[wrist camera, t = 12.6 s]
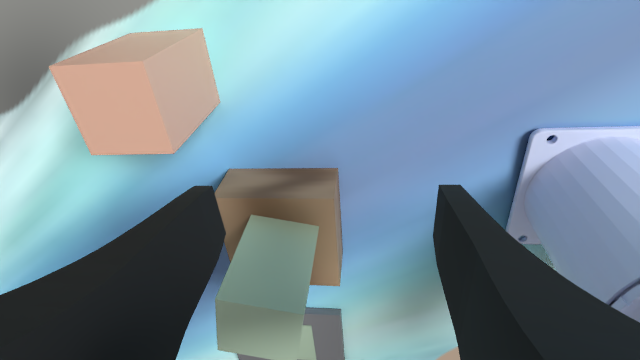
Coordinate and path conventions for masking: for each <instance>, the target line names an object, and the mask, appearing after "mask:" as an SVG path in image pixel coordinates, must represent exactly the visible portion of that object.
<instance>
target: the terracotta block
mask: <svg viewBox="0 0 640 360" xmlns="http://www.w3.org/2000/svg"><path fill="white" fill-rule="evenodd" d="M49 68H50V70H51V72H52V74H53V76H54V78H55V81H56V83H57V85H58V87H59V89H60V91H61V93H62V95H63V97H64V99H65V101H66V103H67V105H68V107H69V110H70V112H71V114H72V116H73V118H74V120H75V122H76V124H77V126H78V128H79V130H80V132H81V134H82V136H83V138H84V141H85V143H86V145H87V147H88V149H89V151H90V153H91V155H124V154H174V153H175V152H176V151H177V150H178V149H179V148H180V147H181V145H182V144H183V143H184V142H185V141H186V140H187V139H188V138H189V137H190V135H191V134H192V133H193V132H194V131H195V130H196V129H197V128H198V127H199V125H200V124H201V123H202V122H203V121H204V120H205V119H206V118H207V116H208V115H209V114H210V113H211V112H212V111H213V110H214V109H215V108H216V106H217V105H218V104H219V103H220V99H219V95H218V91H217V87H216V83H215V79H214V75H213V70H212V66H211V62H210V58H209V54H208V50H207V46H206V41H205V37H204V33H203V29H202V28H199V29H184V30H169V31H154V32H140V33H130V34H127V35H125V36H122V37H120V38H117V39H115V40H112V41H110V42H108V43H105V44H103V45H100V46H98V47H95V48H93V49H90V50H88V51H85V52H83V53H80V54H78V55H75V56H73V57H71V58H68V59H66V60H63V61H61V62H58V63H56V64H53V65H51V66H49Z"/></svg>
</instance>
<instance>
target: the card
mask: <svg viewBox="0 0 640 360" xmlns="http://www.w3.org/2000/svg"><path fill="white" fill-rule="evenodd" d="M237 355H238V358H239V360H271V359H265V358H260V357H254V356H248V355H243V354H237ZM297 360H345V357H344V344H343V331H342V319H341V309H325V308H305V314H304V320H303V326H302V332H301V338H300V343H299V349H298V355H297Z"/></svg>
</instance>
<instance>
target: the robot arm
mask: <svg viewBox="0 0 640 360" xmlns="http://www.w3.org/2000/svg"><path fill="white" fill-rule="evenodd" d="M551 135H554V138H553V139H551V140H549V141H547V138H548V137H549V136H551ZM225 235H226V231H225V228H224V224H223V221H222V217H221V214H220V211H219V207H218V204H217V200H216V197H215V194H214V190H213V187H212V186H194V187H192V188H191V189H189V190H187V191H186V192H184V193H183V194H181V195H180V196H178V197H177V198H175V199H174V200H173V201H171V202H170V203H168V204H167V205H165V206H164V207H163V208H161V209H160V210H158V211H157V212H155V213H154V214H153V215H151V216H150V217H148V218H147V219H145V220H144V221H142V222H141V223H139V224H138V225H136V226H135V227H133V228H132V229H130V230H128V231H127V232H125V233H124V234H122V235H121V236H119V237H118V238H116V239H115V240H113V241H111V242H110V243H108V244H106V245H105V246H103V247H101V248H99V249H98V250H96V251H94V252H92V253H90V254H88V255H87V256H85V257H83V258H81V259H79V260H77V261H75V262H73V263H72V264H69V265H67V266H65V267H63V268H61V269H59V270H57V271H55V272H53V273H50V274H48V275H46V276H44V277H42V278H40V279H38V280H36V281H33V282H31V283H29V284H26V285H24V286H21V287H19V288H17V289H14V290H12V291H9V292H7V293H4V294H2V295H0V360H176V357H177V354H178V351H179V348H180V345H181V342H182V340H183V337H184V334H185V331H186V329H187V326H188V324H189V322H190V319H191V317H192V315H193V313H194V311H195V309H196V306H197V304H198V302H199V300H200V298H201V296H202V294H203V292H204V289H205V287H206V285H207V283H208V281H209V279H210V277H211V274H212V272H213V270H214V268H215V266H216V263H217V261H218V259H219V256H220V252H221V249H222V246H223V242H224V239H225ZM520 236H523V237H521V238H519V237H520ZM433 240H434V247H435V255H436V262H437V267H438V271H439V275H440V278H441V282H442V286H443V290H444V293H445V297H446V301H447V304H448V308H449V312H450V315H451V319H452V323H453V326H454V330H455V334H456V339H457V343H458V348H459V354H460V359H461V360H640V126H617V127H576V128H541V129H537V130H535V131H533V132H532V133H531V135H530V137H529V141H528V145H527V149H526V153H525V156H524V160H523V164H522V168H521V172H520V176H519V180H518V184H517V188H516V192H515V195H514V199H513V203H512V207H511V211H510V215H509V219H508V223H507V227H506V231H505V230H504V229H503V228H502V227H501V226H500V225H499V224H498V223H497V222H496V221H495V220H494V219H493V218H492V217H491V216H490V215H489V214H488V213H487V212H486V211H485V210H484V209H483V208H482V207H481V206H480V205H479V204H478V203H477V202H476V201H475V200H474V199H473V198H472V197H471V196H470V194H469V193H468V192H467V191H466V190H465V189H464V188H463V187H462V186H461V185H439V189H438V197H437V206H436V215H435V223H434V232H433ZM521 244H542V246H543V247H544V249H545V251H546V253H547V254H548V256H549V258H550V260H551V262H552V263H553V265H554V267H555V269H556V271H557V272H556V271H555V270H554V269H552V268H551V267H550V266H548V265H547V264H545V263H544V262H543V261H541V260H540V259H539V258H537V257H536V256H535V255H534V254H532V253H531V252H530V251H529V250H527V249H526V248H525V247H524V246H523V245H521Z"/></svg>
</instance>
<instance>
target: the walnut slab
mask: <svg viewBox="0 0 640 360" xmlns="http://www.w3.org/2000/svg"><path fill="white" fill-rule="evenodd" d="M214 194H215V197H216V200H217V204H218V207H219V211H220V214H221V217H222V221H223V224H224V228H225V231H226V235H225V239H224V243H225V246H226V249H227V253H228V256H229V260H230V263H231V261H232V258H233V256H234V254H235V251H236V249H237V247H238V244H239V242H240V239H241V237H242V235H243V232H244V230H245V228H246V225H247V223H248V221H249V218H250V216H251V215H256V216H262V217H268V218H274V219H280V220H286V221H292V222H297V223H303V224H309V225H315V226H319V230H318V237H317V243H316V249H315V255H314V261H313V267H312V273H311V279H310V285H326V286H340V278H341V266H342V254H343V247H342V229H341V211H340V194H339V176H338V168H290V169H229V170H228V172H227V173H226V175H225V177H224V178H223V180H222V182H221V183H220V185H219V186H218V188H217V190H216V191H215V193H214Z"/></svg>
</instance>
